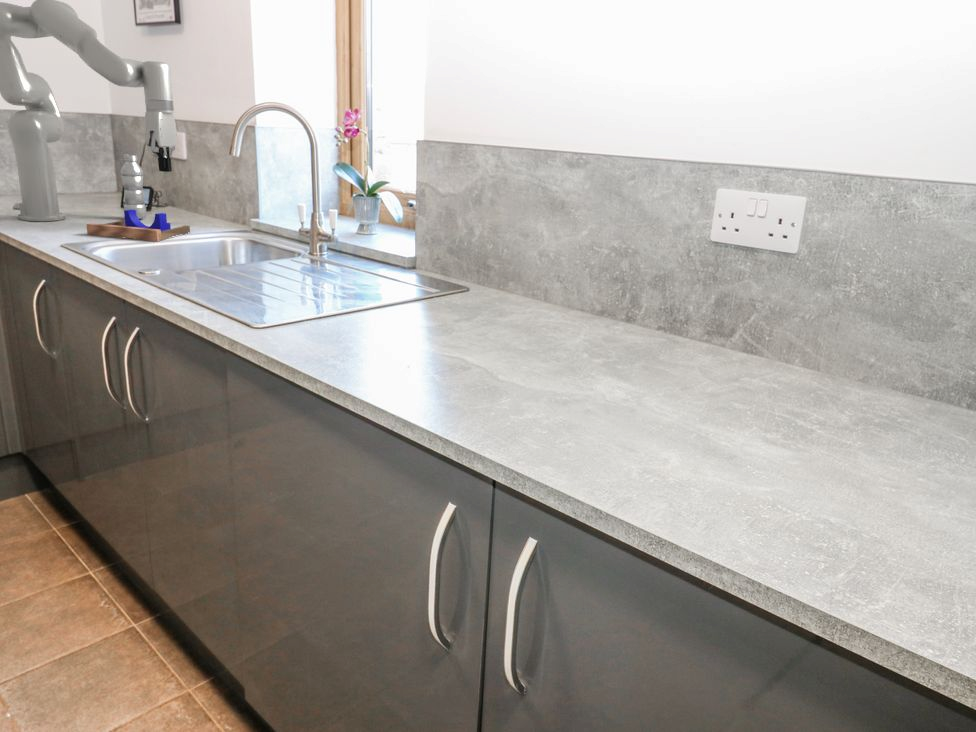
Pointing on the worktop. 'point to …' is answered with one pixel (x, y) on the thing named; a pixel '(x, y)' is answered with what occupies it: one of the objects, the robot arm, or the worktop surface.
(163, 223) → the cable clip
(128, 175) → the plastic bottle
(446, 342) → the worktop surface
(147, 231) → the guide channel
